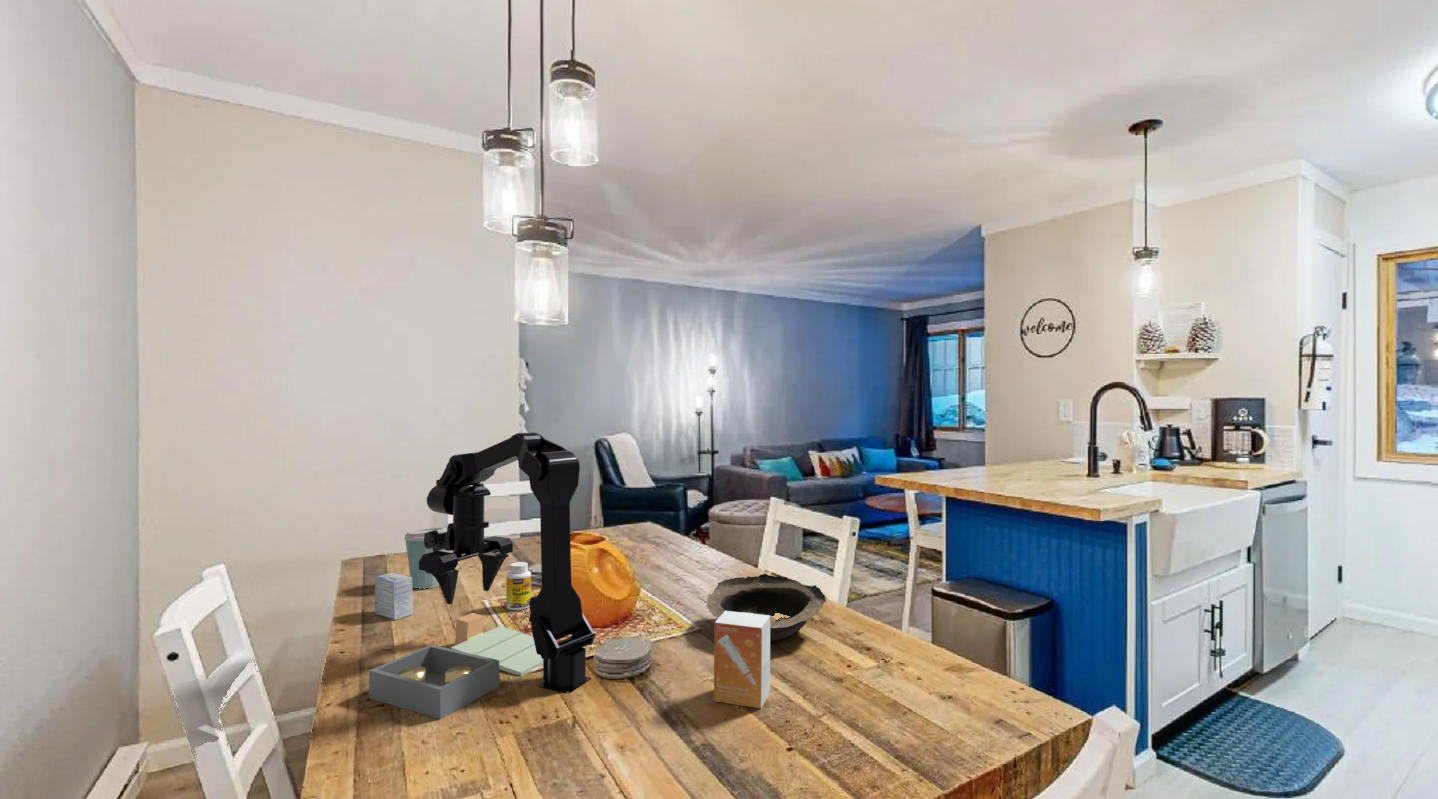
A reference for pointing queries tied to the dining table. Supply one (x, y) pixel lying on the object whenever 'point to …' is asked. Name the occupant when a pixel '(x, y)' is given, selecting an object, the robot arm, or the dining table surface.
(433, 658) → the tub
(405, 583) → the medicine box
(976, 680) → the dining table surface
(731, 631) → the small box
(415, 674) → the brass part
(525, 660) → the lid
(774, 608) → the stone bowl
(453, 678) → the brass part
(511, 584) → the supplement bottle
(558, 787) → the dining table surface
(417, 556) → the disposable coffee cup
